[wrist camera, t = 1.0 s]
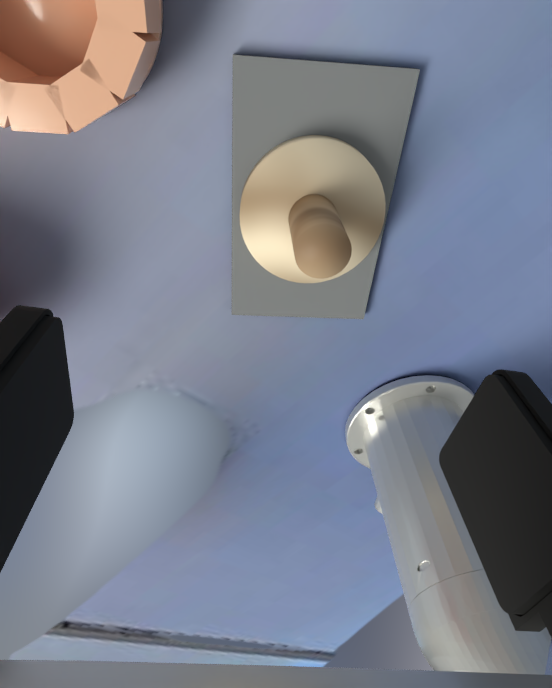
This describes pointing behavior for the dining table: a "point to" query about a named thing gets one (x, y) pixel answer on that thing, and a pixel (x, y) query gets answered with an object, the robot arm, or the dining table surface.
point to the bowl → (73, 59)
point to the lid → (311, 209)
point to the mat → (301, 120)
